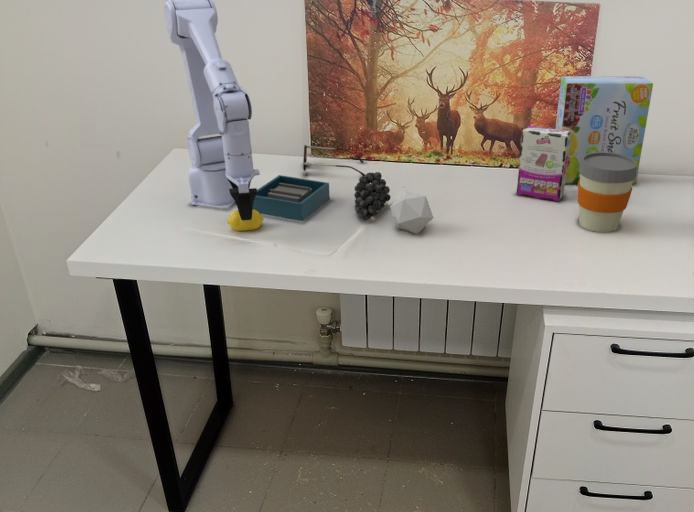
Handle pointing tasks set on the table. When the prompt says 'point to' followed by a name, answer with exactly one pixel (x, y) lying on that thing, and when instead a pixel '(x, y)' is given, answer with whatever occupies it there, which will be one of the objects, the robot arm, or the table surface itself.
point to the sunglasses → (325, 164)
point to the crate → (289, 207)
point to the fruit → (370, 195)
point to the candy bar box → (543, 162)
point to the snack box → (603, 117)
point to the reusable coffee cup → (604, 189)
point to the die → (411, 212)
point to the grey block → (290, 192)
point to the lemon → (245, 221)
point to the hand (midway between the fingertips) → (244, 212)
